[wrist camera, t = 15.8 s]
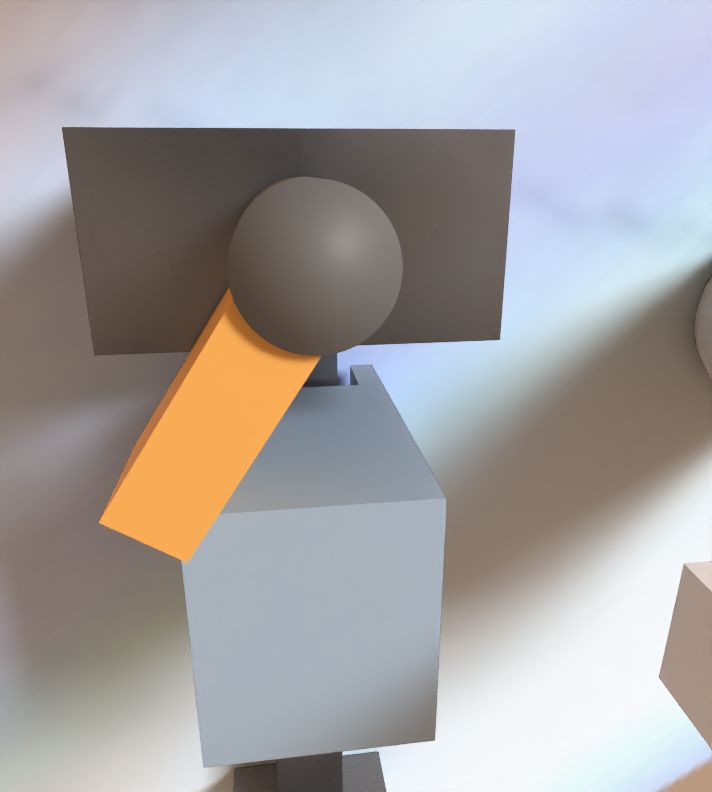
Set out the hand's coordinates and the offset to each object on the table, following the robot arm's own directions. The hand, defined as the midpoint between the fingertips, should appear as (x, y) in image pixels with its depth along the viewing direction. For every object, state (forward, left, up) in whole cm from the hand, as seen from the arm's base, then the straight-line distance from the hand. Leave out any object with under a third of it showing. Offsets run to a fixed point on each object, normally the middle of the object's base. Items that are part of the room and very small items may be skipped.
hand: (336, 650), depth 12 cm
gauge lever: (-5, -1, -3) cm, 6 cm away
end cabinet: (-7, 0, -11) cm, 13 cm away
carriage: (+1, 0, -11) cm, 11 cm away
